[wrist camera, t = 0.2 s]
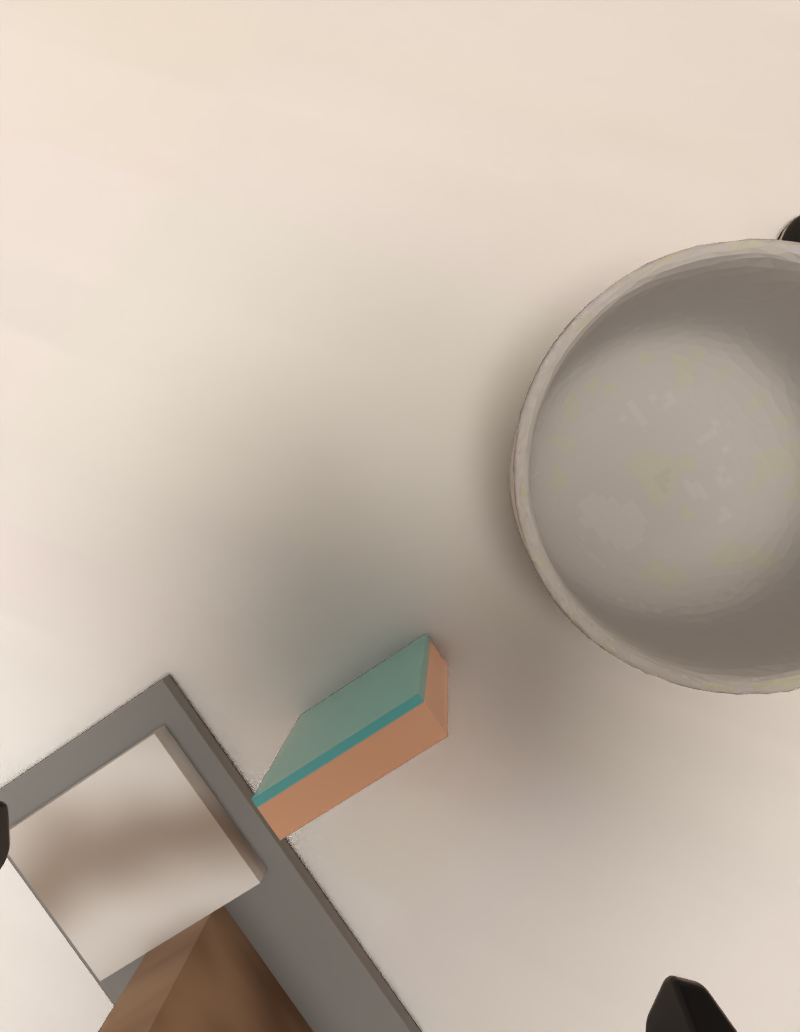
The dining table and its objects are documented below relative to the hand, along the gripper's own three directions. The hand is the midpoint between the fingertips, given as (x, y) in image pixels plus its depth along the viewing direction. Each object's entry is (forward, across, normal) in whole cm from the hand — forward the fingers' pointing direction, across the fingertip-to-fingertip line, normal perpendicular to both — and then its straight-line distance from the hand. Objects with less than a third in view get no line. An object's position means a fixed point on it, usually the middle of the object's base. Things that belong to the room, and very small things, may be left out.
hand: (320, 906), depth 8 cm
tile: (+14, +1, +6) cm, 16 cm away
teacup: (+17, -9, -4) cm, 19 cm away
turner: (+11, +5, +18) cm, 21 cm away
